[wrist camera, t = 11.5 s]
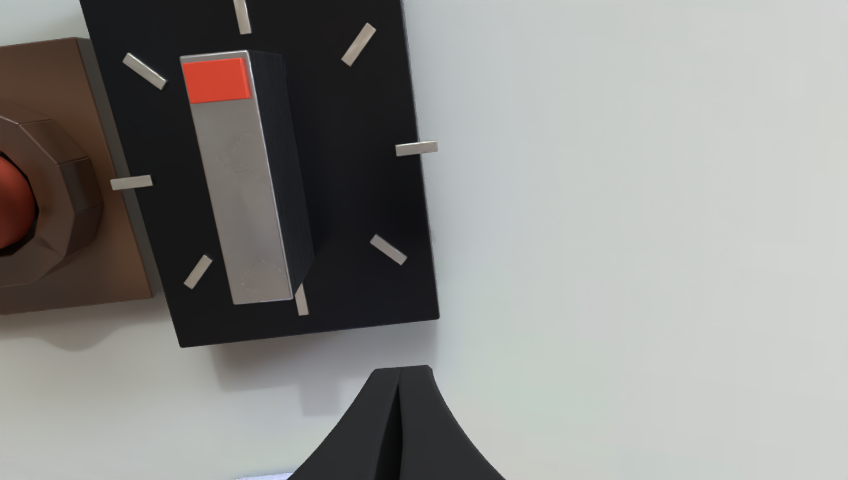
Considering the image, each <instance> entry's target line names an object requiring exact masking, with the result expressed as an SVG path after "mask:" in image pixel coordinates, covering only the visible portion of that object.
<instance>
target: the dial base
mask: <svg viewBox="0 0 848 480" xmlns="http://www.w3.org/2000/svg"><path fill="white" fill-rule="evenodd" d="M79 1H80V4H81V8H82V11H83V15H84V18H85V21H86V25H87V28H88V32H89V35H90V39H91V42H92V45H93V49H94V52H95V56H96V59H97V63H98V66H99V70H100V73H101V76H102V80H103V83H104V87H105V90H106V94H107V97H108V101H109V104H110V107H111V111H112V114H113V118H114V121H115V125H116V128H117V132H118V135H119V138H120V142H121V145H122V149H123V152H124V156H125V159H126V163H127V166H128V169H129V173H130V176H131V177H126V178H118V179H112V180H110V182H111V185H112V189H113V190H119V189H128V188H134V190H135V194H136V197H137V200H138V204H139V207H140V211H141V214H142V218H143V221H144V225H145V228H146V231H147V235H148V238H149V242H150V245H151V249H152V252H153V256H154V259H155V262H156V266H157V269H158V273H159V276H160V280H161V283H162V287H163V290H164V293H165V297H166V300H167V304H168V307H169V311H170V314H171V318H172V321H173V324H174V328H175V331H176V335H177V338H178V342H179V345H180V347H181V348H186V347H195V346H204V345H213V344H222V343H231V342H240V341H249V340H257V339H266V338H275V337H284V336H293V335H302V334H311V333H320V332H329V331H338V330H347V329H356V328H365V327H374V326H383V325H392V324H400V323H409V322H418V321H427V320H436V319H439V318H440V313H439V302H438V291H437V282H436V273H435V265H434V257H433V248H432V240H431V231H430V223H429V215H428V206H427V198H426V189H425V181H424V173H423V164H422V156H421V153H428V152H436V151H438V148H437V140H434V141H426V142H420V139H419V131H418V122H417V114H416V105H415V97H414V89H413V80H412V72H411V63H410V55H409V46H408V38H407V30H406V21H405V13H404V4H403V0H79ZM236 50H252V51H259V52H266V53H273V54H280V55H282V58H283V65H284V71H285V77H286V83H287V89H288V95H289V101H290V107H291V114H292V120H293V126H294V132H295V138H296V144H297V150H298V156H299V163H300V169H301V175H302V181H303V187H304V193H305V199H306V205H307V212H308V218H309V224H310V230H311V236H312V242H313V248H314V254H315V260H314V262H313V263H312V265H311V267H310V269H309V271H308V272H307V274H306V276H305V278H304V280H303V281H302V283H301V285H300V287H299V289H298V290H297V292H296V294H295V296H294V298H293V299H291V300H280V301H269V302H258V303H246V304H234V303H233V299H232V295H231V290H230V286H229V281H228V276H227V272H226V267H225V263H224V258H223V254H222V249H221V245H220V240H219V235H218V231H217V226H216V222H215V217H214V213H213V208H212V204H211V199H210V194H209V190H208V185H207V181H206V176H205V172H204V167H203V163H202V158H201V153H200V149H199V144H198V140H197V135H196V131H195V126H194V122H193V117H192V112H191V108H190V103H189V99H188V94H187V90H186V85H185V80H184V76H183V71H182V67H181V62H180V57H181V56H184V55H195V54H205V53H215V52H226V51H236Z"/></svg>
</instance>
